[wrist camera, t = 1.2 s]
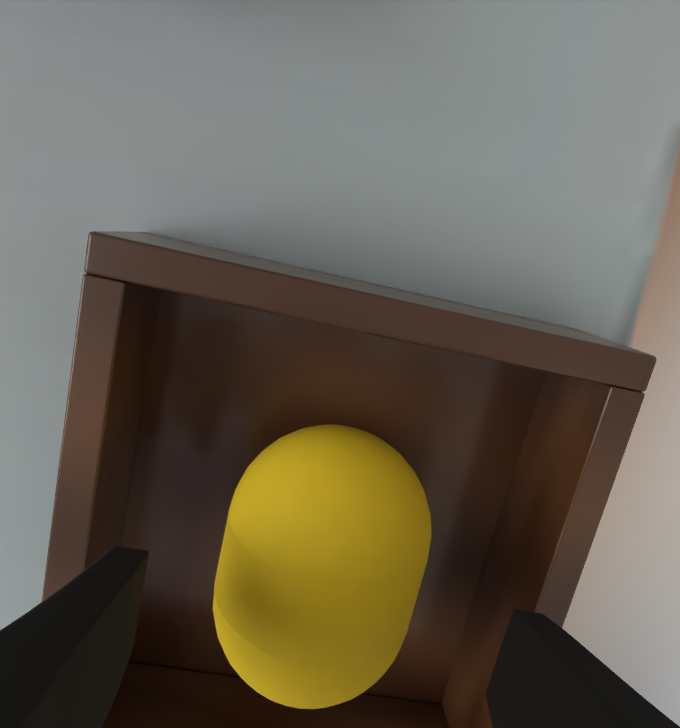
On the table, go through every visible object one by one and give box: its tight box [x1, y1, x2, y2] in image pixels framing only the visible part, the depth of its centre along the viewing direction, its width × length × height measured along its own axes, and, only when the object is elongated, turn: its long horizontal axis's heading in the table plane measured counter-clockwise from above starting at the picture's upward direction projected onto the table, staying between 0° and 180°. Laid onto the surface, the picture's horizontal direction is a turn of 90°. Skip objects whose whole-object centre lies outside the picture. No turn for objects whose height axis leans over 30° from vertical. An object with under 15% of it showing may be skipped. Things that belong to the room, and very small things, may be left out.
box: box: [42, 231, 656, 728], centre depth 14 cm, size 13×12×4 cm
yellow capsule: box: [213, 424, 431, 709], centre depth 13 cm, size 6×5×5 cm
